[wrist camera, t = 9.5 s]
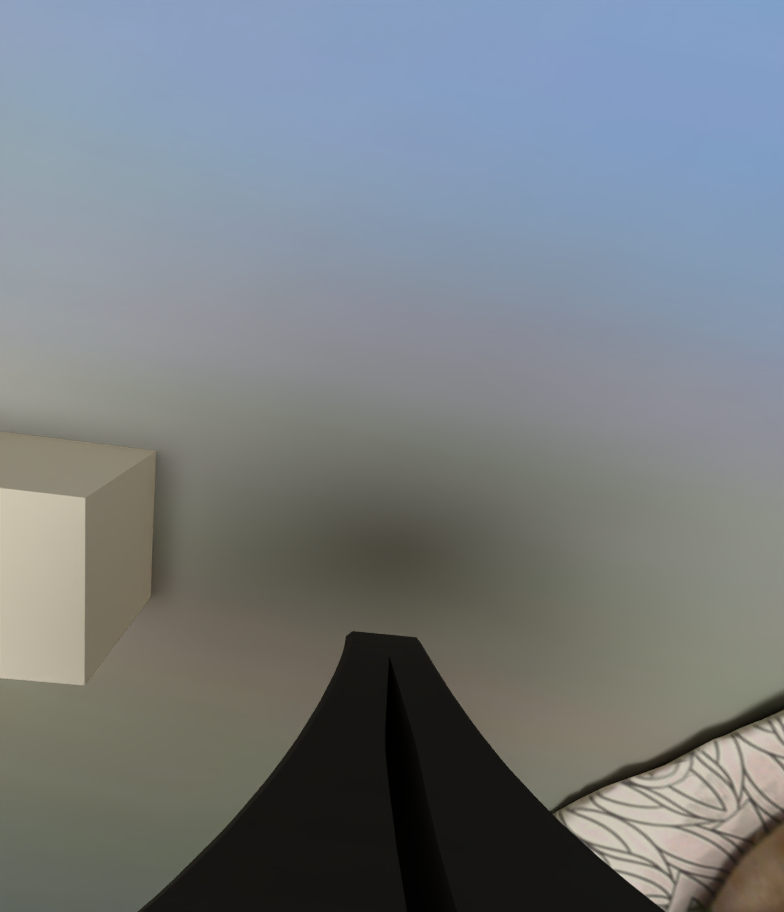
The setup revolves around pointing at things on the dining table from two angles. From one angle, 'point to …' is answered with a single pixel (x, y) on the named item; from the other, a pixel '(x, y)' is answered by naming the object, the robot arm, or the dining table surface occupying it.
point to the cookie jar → (697, 825)
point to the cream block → (71, 553)
